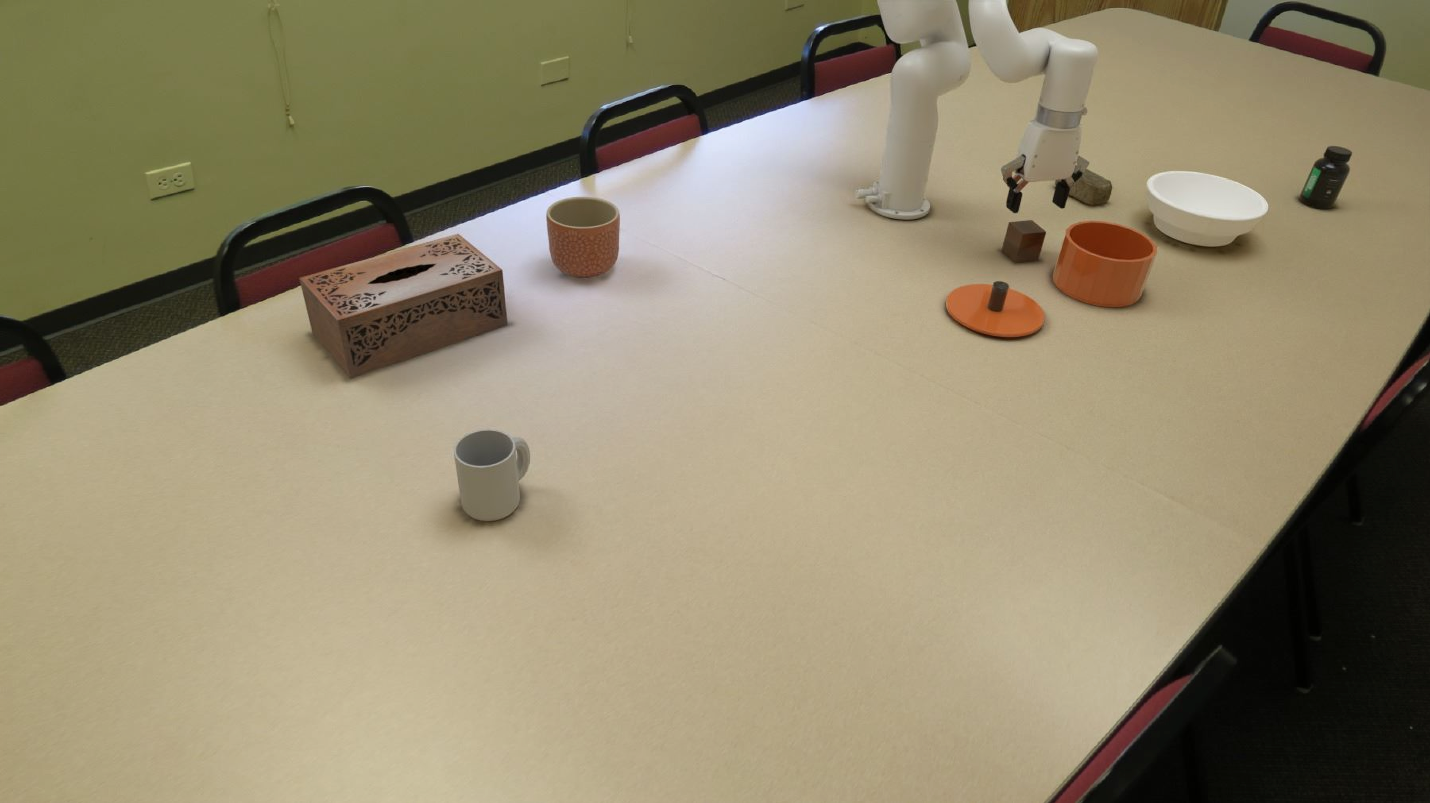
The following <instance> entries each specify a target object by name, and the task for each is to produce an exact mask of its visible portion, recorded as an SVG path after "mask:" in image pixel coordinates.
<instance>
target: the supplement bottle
mask: <svg viewBox="0 0 1430 803" xmlns="http://www.w3.org/2000/svg"><path fill="white" fill-rule="evenodd" d="M1352 154H1353V151H1352V150H1351V149H1348V148H1346V147H1343V146H1339V145H1329V146H1327V147H1326V150H1325V151H1324V153H1323V157H1320V158H1318V159H1316V160H1315V161H1314V163H1313V165H1312V168H1311V169H1310V172H1309V174H1308V176H1307V178H1306V181H1305V183H1304V185H1303V187H1302V189H1301V192H1300V194H1299V197H1298V198H1299V201H1300V202H1301V203H1302V204H1304V205H1306V206H1308V207H1310V208H1315V209H1320V210H1327V209H1331V208H1333V207H1334V205H1335V203H1336V201H1337V200H1338V197H1339V195H1340V194H1341V191H1342V189H1343V186H1344V185H1345V182H1346V180H1347V179H1348V176H1349V174H1350V172H1351V167H1350V165H1349V164H1348V163H1349V162H1350V160H1351V157H1352Z"/></svg>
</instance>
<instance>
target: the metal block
mask: <svg viewBox="0 0 1430 803" xmlns="http://www.w3.org/2000/svg"><path fill="white" fill-rule="evenodd" d="M1046 236H1047V231H1046V230H1045V229H1044V228H1042V227H1041V226H1040V225H1039V224H1037V223H1036V222H1035V221H1034V220H1033V219H1027V220H1017V221H1009V222H1008V224H1007V228H1006V231H1005V235H1004V240H1003V244H1002V247H1001V252H1002V253H1004V254H1005V255H1006V256H1007V257H1008V258H1009V259H1010V260H1011V261H1012V262H1013V263H1015V264H1017V263H1018V264H1019V263H1027V262H1037V261H1039V259H1040V256H1041V253H1042V249H1043V245H1044V242H1045V238H1046Z"/></svg>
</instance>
